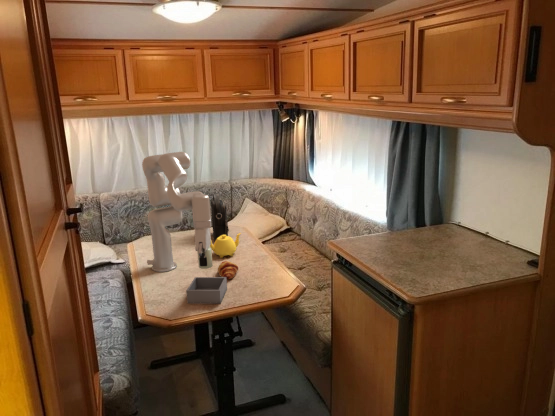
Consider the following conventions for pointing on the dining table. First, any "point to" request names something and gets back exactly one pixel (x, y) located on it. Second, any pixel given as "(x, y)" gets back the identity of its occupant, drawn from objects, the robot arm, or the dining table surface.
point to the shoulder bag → (218, 217)
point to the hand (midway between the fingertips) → (205, 262)
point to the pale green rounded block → (209, 259)
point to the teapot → (225, 245)
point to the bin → (207, 290)
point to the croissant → (227, 269)
